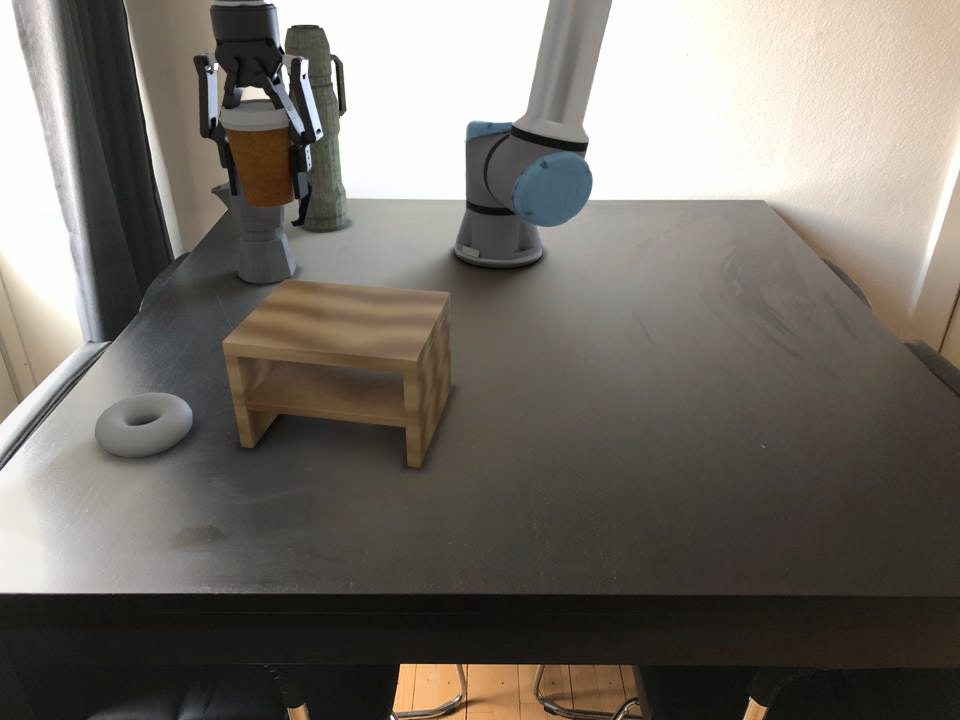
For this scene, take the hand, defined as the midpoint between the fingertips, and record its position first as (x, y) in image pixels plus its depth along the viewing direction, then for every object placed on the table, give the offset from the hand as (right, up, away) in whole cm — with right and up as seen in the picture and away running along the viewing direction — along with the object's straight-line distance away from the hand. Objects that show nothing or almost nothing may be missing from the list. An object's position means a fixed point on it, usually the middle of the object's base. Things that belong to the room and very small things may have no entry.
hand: (270, 194), depth 97 cm
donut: (-9, -30, -15) cm, 35 cm away
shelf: (+13, -28, -11) cm, 33 cm away
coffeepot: (-6, -7, +25) cm, 27 cm away
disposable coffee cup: (0, -1, +1) cm, 1 cm away
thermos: (-2, +4, +46) cm, 46 cm away
